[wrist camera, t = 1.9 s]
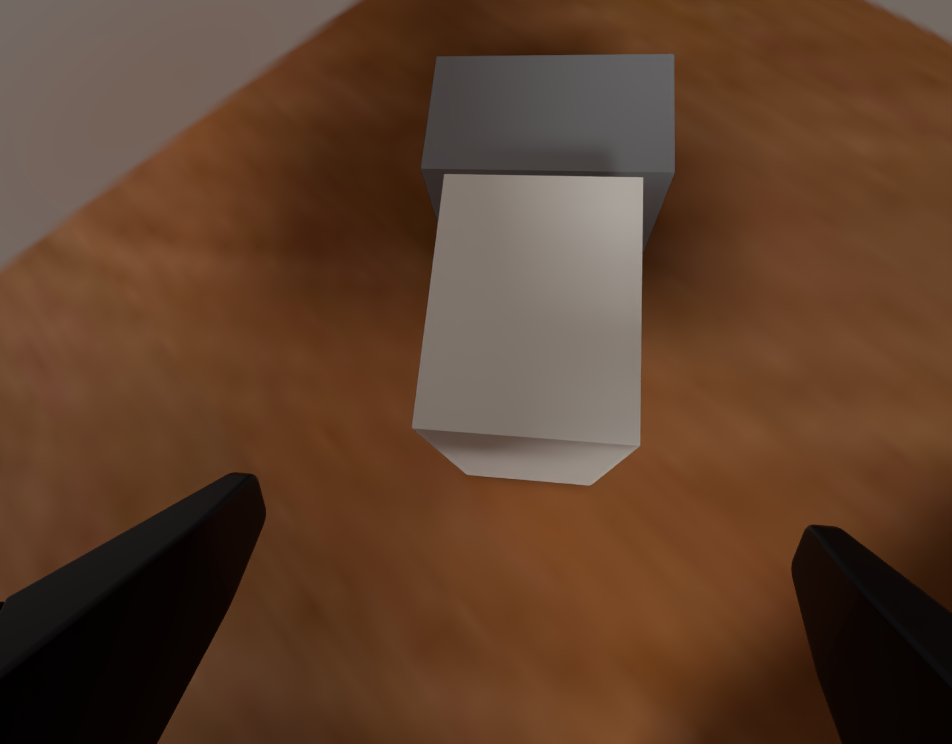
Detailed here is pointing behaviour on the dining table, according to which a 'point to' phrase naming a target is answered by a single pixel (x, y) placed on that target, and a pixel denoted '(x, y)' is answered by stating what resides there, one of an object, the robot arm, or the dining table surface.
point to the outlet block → (554, 120)
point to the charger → (534, 326)
